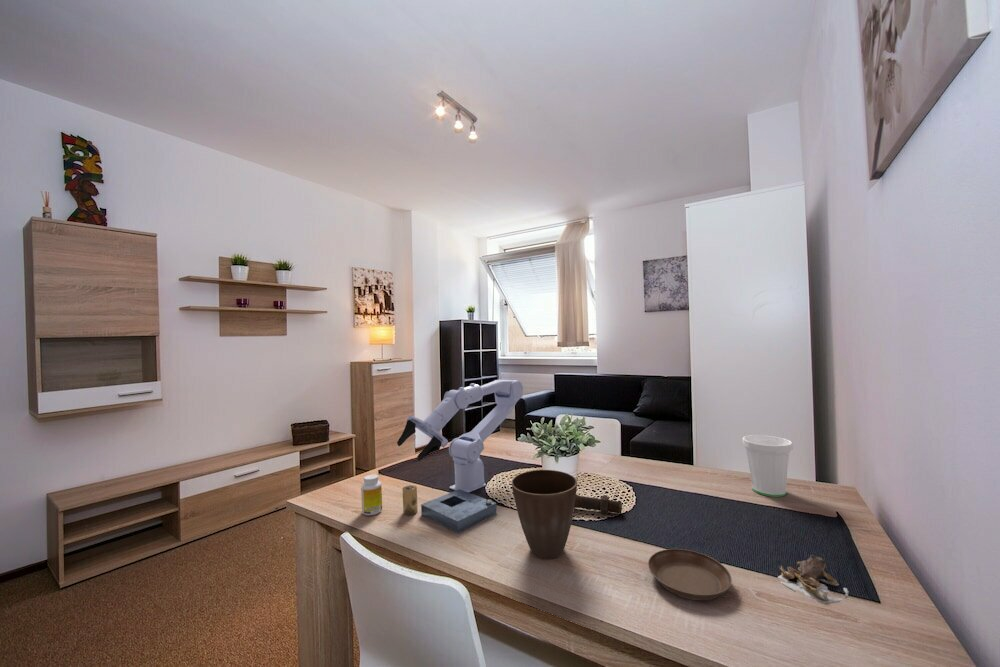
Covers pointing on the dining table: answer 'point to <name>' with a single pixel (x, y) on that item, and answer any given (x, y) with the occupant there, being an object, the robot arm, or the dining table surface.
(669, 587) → the saucer
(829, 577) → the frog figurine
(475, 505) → the jig
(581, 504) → the bolt
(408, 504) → the bushing
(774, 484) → the cup
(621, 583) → the dining table surface
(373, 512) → the supplement bottle
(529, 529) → the plant pot
